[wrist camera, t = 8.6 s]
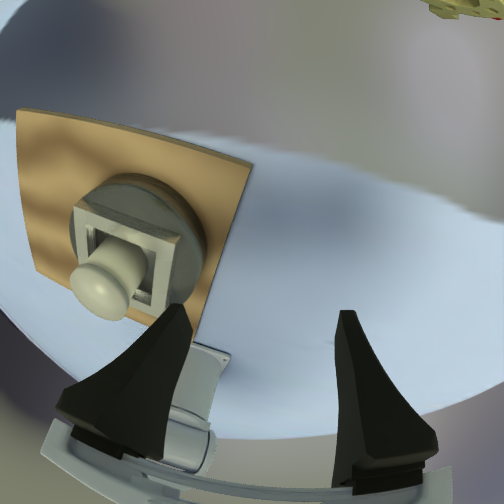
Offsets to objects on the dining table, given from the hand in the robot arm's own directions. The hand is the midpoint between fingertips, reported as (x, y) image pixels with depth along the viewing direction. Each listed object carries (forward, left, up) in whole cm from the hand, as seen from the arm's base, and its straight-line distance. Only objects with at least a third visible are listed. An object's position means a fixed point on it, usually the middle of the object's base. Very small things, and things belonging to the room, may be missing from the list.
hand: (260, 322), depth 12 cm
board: (-8, +15, -10) cm, 20 cm away
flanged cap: (-6, +10, -6) cm, 13 cm away
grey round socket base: (-6, +10, -9) cm, 15 cm away
